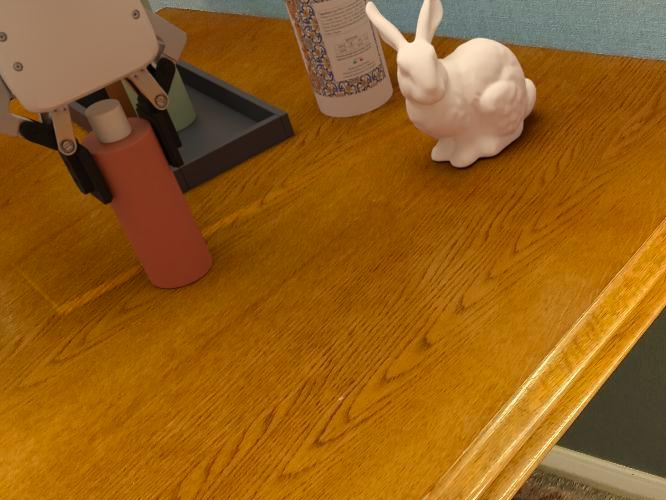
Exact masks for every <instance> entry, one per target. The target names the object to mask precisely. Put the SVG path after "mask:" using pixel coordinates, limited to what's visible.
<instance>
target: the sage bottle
mask: <svg viewBox="0 0 666 500" xmlns="http://www.w3.org/2000/svg"><path fill="white" fill-rule="evenodd" d="M140 1H141V4H142V5H143V6H144V7H146V8H147V9H149V10H151V11H152V12H154V10H153V8H152V6H151V3H150V1H149V0H140ZM175 67H176V65H175ZM145 68H147V66H146V67H145ZM121 82H122V84H123V86H124V88H125V90H126V92H127V95H128V97H129V99H130V101H131V103H132V105H133V107H134V110H135V112H136V108H137V106H136V104H137V103H138V101H137V97H138V96H137V95H136V94H135V93H134V92H133V90H132V89H131V88H130V87H129V86H128V84H127V83H126V82H125V81H124V80H123V79H121ZM168 97H169V100H170V103H169V106H168V107H167V111H168V113H169V115H170V117H171V120H172V122H173V124H174V126H175V129H176V131H177V132H178V131H180V130H183V129H184V128H186V127H188V126H189V125H190V124H192V123H193V122H194V120H195V119H196V113H195V110H194V108H193V105H192V103H191V101H190V98H189V96H188V94H187V91H186V89H185V86H184V84H183V82H182V79H181V77H180V75H179V72H178V70H177V67H176V71H175V75H174V78H173V81H172V84H171V87H170V91H169V94H168ZM136 114H137V112H136ZM137 116H138V114H137ZM138 118H139V116H138Z"/></svg>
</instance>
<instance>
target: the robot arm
mask: <svg viewBox="0 0 666 500" xmlns="http://www.w3.org/2000/svg"><path fill="white" fill-rule="evenodd" d="M187 43H188V36H187V33H186V32H185V31H184V30H182V29H181V28H179V27H177V26H176V25H175V24H173V23H171V22H170V21H168V20H166V19H165V18H163V17H162V16H161V15H159V14H157V13H156V12H154V11H153V12H152V11H151V10H149V9H147V8H146V7H144V6H143V5H142V4H141V1H140V0H0V134H2V135H4V136H9V137H12V138H19V139H23V140H27V141H28V142H31V143H33V144H36V145H38V146H42V147H44V148H48V149H51V150H53V151H55V152H58V154H59V156H60V158H61V160H62V162H63V164H64V166H65V167H66V170H67V171H68V173H69V174H70V176H71V178H72V181H73V182H74V183H75V185H76V187H77V189H78V190H79V191H80V193H82V194H83V195H84V196H87V195H89V194H90V195H91V196H92V197H93V198H94V199H96V200H97V201H99V202H100V203H102V204H103V205H104V206H107V205H109V204H110V203H111V202H112V199H113V196H112V194H111V192H110V190H109V188H108V186H107V184H106V182H105V180H104V178H103V176H102V175H101V173H100V171H99V169H98V167H97V165H96V163H95V161H94V159H93V157H92V155H91V153H90V152H89V150H88V149H87V148H85V147H84V146H83V145H81V143H80V142H79V140H78V138H77V137H76V135H75V134H76V133H75V129H74V125H73V121H72V120H71V115H70V110H69V105H68V104H69V103H72V102H74V101H76V100H78V99H80V98H82V97H85V96H87V95H89V94H91V93H93V92H95V91H98V90H100V89H102V88H104V87H106V86H108V85H110V84H113V83H115V82H117V81H119V80H121V79H123V80H124V81H125V82H126V83H127V84H128V86H129V87H130V88H131V89H132V90H133V92H134V93H135V94H136V95H137V96H138V97H137V101H138V103H137V104H136V106H137V108H136V112H137V114H138V116H139V118H143V119H146V120H148V121H149V122H150V124H151V126H152V128H153V130H154V132H155V134H156V137H157V139H158V141H159V143H160V145H161V148H162V150H163V152H164V154H165V156H166V158H167V161H168V163H169V165H171V166H172V167H177V168H179V167H181V166H183V165H184V162H183V159H182V157H181V155H180V153H179V150H178V148H180V147H182V142H181V140H180V138H179V135H178V133H177V131H176V129H175V126H174V124H173V122H172V120H171V117H170V115H169V113H168V111H167V107H168V106H169V103H170V100H169V97H168V94H169V91H170V87H171V84H172V81H173V78H174V75H175V71H176V67H175V65H176V63H177V62H178V61H179V59H181V57H182V54H183V51H184V49H185V47H186V44H187ZM146 66H147V68H145V67H146ZM11 99H13V100H14V99H15V100H18V102H19V103H20V105H21V106H22V107H23V108H24V109H25V110H26V111H28V112H30V113H34V114H37V115H38V119H39V121H38V120H35V119H33V118H31V117H27V116H24V115H17V114H14V113H11V112H10V104H11Z"/></svg>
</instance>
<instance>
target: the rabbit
mask: <svg viewBox="0 0 666 500" xmlns="http://www.w3.org/2000/svg"><path fill="white" fill-rule="evenodd" d="M365 11H366V14H367V16H368V17H369V19H370V21H371V22H372V23H373V24H374V26H375V27H376V28H377V31H378V35H379V37H380V38H381V40H382V41H383V42H384V43H385V44H387V45H388V46H390V47H391V48H392V49H393V50H395V51H396V52H397V55H396V64H397V68H396V69H397V72H396V76H397V83H398V87H399V90H400V93H401V95H402V96H403V97H404V98H405V108H406V113H407V116H408V119H409V121H410V122H411V123H412V124H413V125H414V127H415V128H416V130H418V131H420V132H421V133H422V134H424V135H427V136H429V137H432V138H433V139H437V140H438V142H437V143H436V144H435V146H433V148H432V149H431V155H430V156H431V160H432V161H434V162H450V164H451V165H452V167H455V168H466V167H468V166H470V165H472V164H473V163H475V162H476V161H477V160H478V159H479V158H489V157H494V156H497V155H498V154H500V152H501V151H503V150H504V149H506V148H507V147H508V146H509V145H510V144H512V143H513V142H514V141H516V140H517V139H518V138H519V137H520V136H521V135H522V132H523V130H524V120H525V119H526V118H527V117H528V116H529V115H530V114H531V113H532V111H533V109H534V107H535V103H536V101H537V88H536V85H535V84H534V82H533V81H532V80H531V79H529V78H527V77H525V73H524V69H523V68H522V65H521V64H520V61H519V60H518V58H517V55H515V53H514V52H513V51H512V50H511V49H510V48H509V47H507V46H506V45H504V44H502V43H500V42H498V41H496V40H493V39H490V38H485V37H476V38H472V39H470V40H468V41H466V42H464V43H462V44H460V45H458V46H457V47H456V49H454V51H453V52H451V53H450V54H448V55H446V56H445V57H444V58H438V55H437V53H436V50H435V47H434V46H433V45H432V41H433V38H434V36H435V32H436V31H437V29H438V27H439V25H440V23H441V22H442V19H443V16H444V9H443V5H442V2H441V0H423V3H422V5H421V8H420V12H419V15H418V18H417V24H416V30H415V37H414V40H413V41H412V42H409V41H407V40H406V38H405V36H404V35H403V34H402V33H401V32H400V30H399V29H398V28H397V27H396V26H395V25H394V24H393V23H392V22H390V21H389V20H388V19H386V17H384V16H383V15H382V14H381V12H380V11H379V9H378V8H377V6H376V4H375V3H374V2H372V1H370V2H368V3H367V5H366V10H365Z"/></svg>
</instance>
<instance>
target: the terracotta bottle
mask: <svg viewBox="0 0 666 500" xmlns="http://www.w3.org/2000/svg"><path fill="white" fill-rule="evenodd" d="M85 115H86V117H87V119H88V121H89V123H90V125H91V127H92V129H93V131H91V132H90V133H89V132H88V134H87V135H85V136H84V137H83V138H82V140H81V143H80V144H81V145H83V146H84V147H85V148H87V149H88V150H89V152H90V153H91V155H92V157H93V159H94V161H95V163H96V165H97V167H98V169H99V171H100V173H101V175H102V176H103V178H104V180H105V182H106V184H107V186H108V188H109V190H110V192H111V194H112V196H113V199H112V202H111V203H109V204H110V207H111V209H112V210H113V212H114V214H115V216H116V218H117V220H118V222H119V225H120V226H121V228H122V230H123V231H124V233H125V235H126V238H127V239H128V241H129V243H130V245H131V246H132V249H133V250H134V252H135V255H136V256H137V258H138V260H139V262H140V264H141V266H142V268H143V270H144V272H145V274H146V275H147V277H148V279H149V281H150V283H151V284H152V285H153V286H154V287H157V288H160V289H166V290H167V289H177V288H181V287H184V286H188V285H190V284H193V283H194V282H196V281H198V280H200V279H201V278H202V277H204V276H205V275H206V274H207V273H208V272H209V271H210V270H211V268H212V267H213V256H212V254H211V252H210V250H209V248H208V246H207V243H206V242H205V239H204V237H203V235H202V233H201V230H200V228H199V226H198V224H197V222H196V220H195V217H194V215H193V213H192V211H191V208H190V207H189V204H188V202H187V200H186V197H185V196H184V195H185V194H184V193H182V191H181V189H180V187H179V185H178V182H177V180H176V178H175V176H174V174H173V171H172V169H171V167H170V165H169V163H168V161H167V158H166V156H165V154H164V152H163V150H162V148H161V145H160V143H159V141H158V139H157V137H156V134H155V132H154V130H153V128H152V126H151V124H150V122H149V121H148V120H146V119H143V118H127V117H126V115H125V113H124V111H123V109H122V107H121V104H120V102H119V101H118V100H115V99H107V100H102V101H99V102H96V103H94V104H92V105H91V106H89V107H88V108H87V109H86V111H85Z"/></svg>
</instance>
